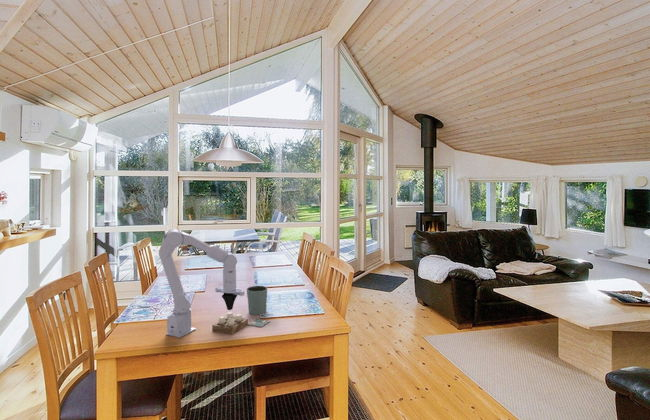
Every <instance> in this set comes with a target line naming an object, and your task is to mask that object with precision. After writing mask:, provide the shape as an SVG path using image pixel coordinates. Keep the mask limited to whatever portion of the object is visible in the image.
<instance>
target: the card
mask: <svg viewBox="0 0 650 420" xmlns="http://www.w3.org/2000/svg"><path fill="white" fill-rule="evenodd" d="M270 322H271V321H270V320H268V319H266V320H265V319H260V318H255V319H254V320H252V321H250V322H248V325H247V326H253V327H258V328H262V327H264V326H266V325H268V324H269V323H270Z"/></svg>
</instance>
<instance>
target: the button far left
mask: <svg viewBox="0 0 650 420" xmlns="http://www.w3.org/2000/svg"><path fill="white" fill-rule="evenodd" d="M233 316H234V312H231V311H229V312H227V313H226V318H227V320H228V319H229V318H233Z"/></svg>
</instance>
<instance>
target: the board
mask: <svg viewBox="0 0 650 420" xmlns="http://www.w3.org/2000/svg"><path fill="white" fill-rule="evenodd" d="M233 318H234V326H233V327H228V320H227V317H225V324H224V325H219V321H218V322H216V323H213V324H212V325H211V326H212V330H211V331H212V332H213V331H214V332H218V333H223V334H227V335H233V334H234V333H236V332H238V331H239V330H241V329H243V328H244V327H246V326H249V325H248V324H249V319H248V318H243V317H242V322H240V323H238V322H236V316H234V315H233Z"/></svg>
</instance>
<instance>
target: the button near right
mask: <svg viewBox="0 0 650 420" xmlns="http://www.w3.org/2000/svg"><path fill="white" fill-rule="evenodd" d="M233 326H234V318H229V319H228V327H233Z"/></svg>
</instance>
